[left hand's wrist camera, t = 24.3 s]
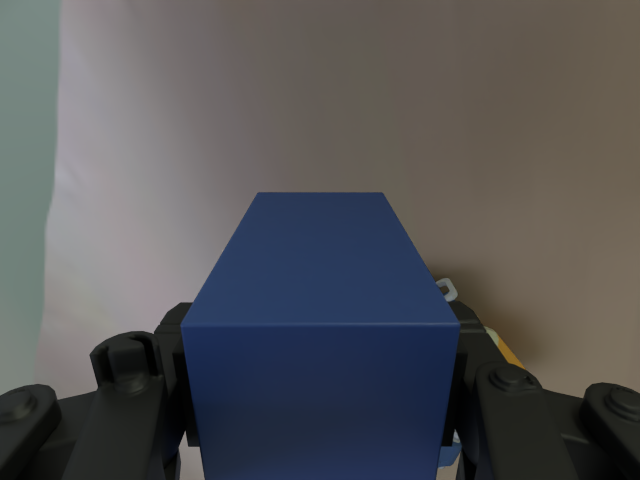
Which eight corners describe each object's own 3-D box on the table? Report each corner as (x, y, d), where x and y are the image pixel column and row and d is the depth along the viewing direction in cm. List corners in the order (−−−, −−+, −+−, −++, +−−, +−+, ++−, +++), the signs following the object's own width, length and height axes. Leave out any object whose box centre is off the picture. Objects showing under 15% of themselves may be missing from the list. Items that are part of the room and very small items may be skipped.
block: (265, 322, 17) (214, 544, 9) (257, 191, 14) (177, 324, 6) (375, 322, 17) (426, 544, 9) (383, 191, 14) (462, 324, 6)
